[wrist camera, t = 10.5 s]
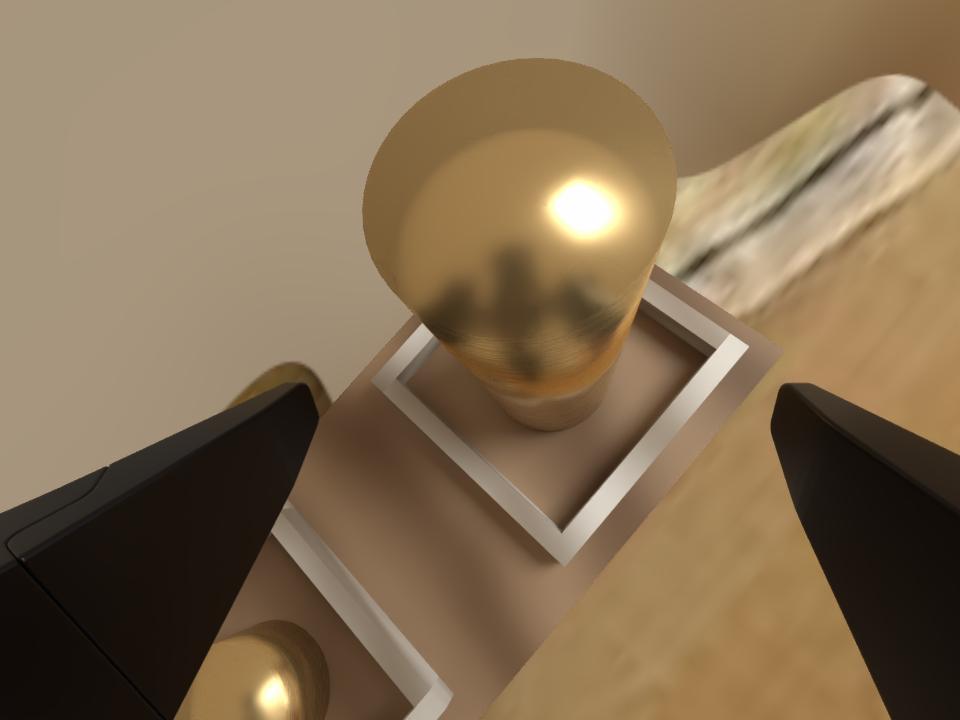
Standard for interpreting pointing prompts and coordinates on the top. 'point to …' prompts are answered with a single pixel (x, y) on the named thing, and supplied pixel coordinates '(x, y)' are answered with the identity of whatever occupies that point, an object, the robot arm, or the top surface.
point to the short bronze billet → (261, 677)
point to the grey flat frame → (482, 508)
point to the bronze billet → (525, 227)
